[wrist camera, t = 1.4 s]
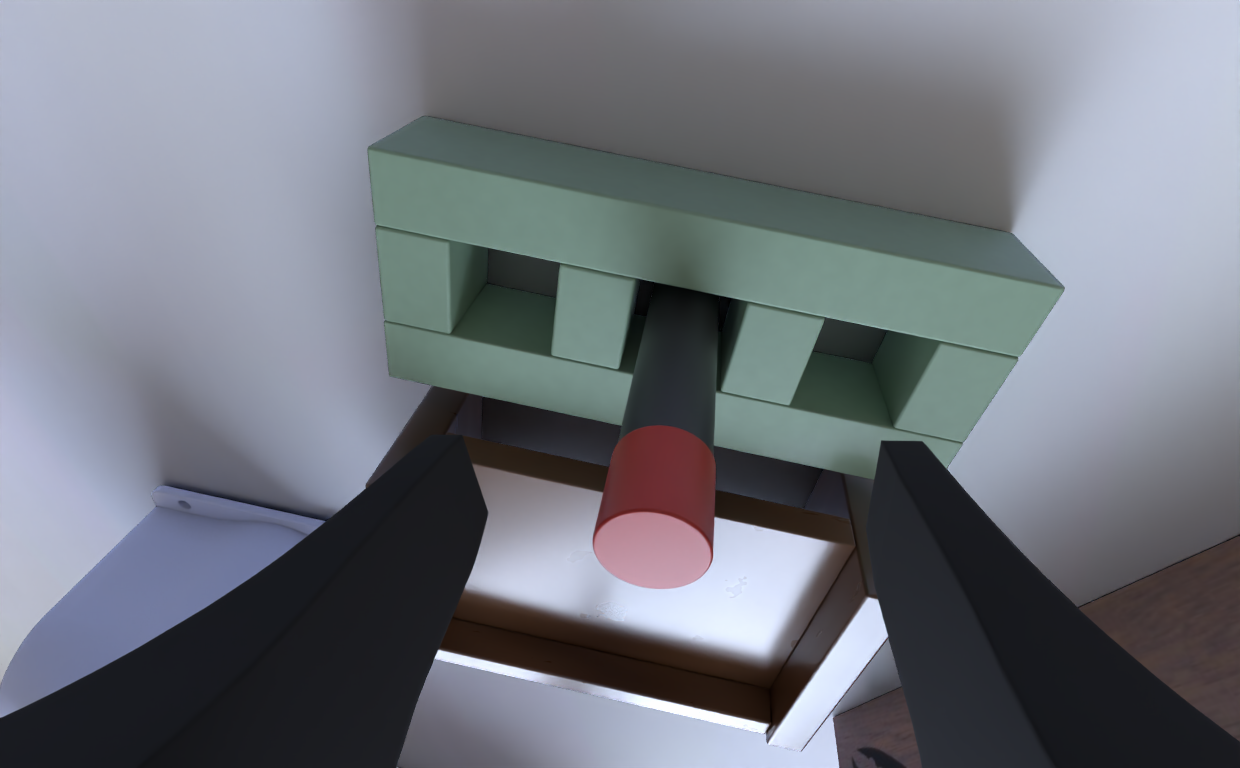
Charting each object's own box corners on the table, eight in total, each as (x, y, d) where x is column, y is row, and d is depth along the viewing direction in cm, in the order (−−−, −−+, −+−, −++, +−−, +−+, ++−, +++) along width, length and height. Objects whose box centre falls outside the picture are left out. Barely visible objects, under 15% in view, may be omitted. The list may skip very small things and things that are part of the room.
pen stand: (905, 422, 19) (931, 492, 16) (431, 322, 19) (388, 376, 17) (1013, 232, 15) (1068, 288, 13) (422, 114, 15) (365, 146, 13)
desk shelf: (452, 528, 25) (389, 659, 20) (448, 360, 20) (363, 484, 15) (788, 602, 25) (802, 753, 20) (872, 450, 19) (915, 605, 15)
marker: (647, 305, 18) (585, 575, 10) (660, 244, 16) (599, 498, 9) (712, 318, 18) (697, 600, 10) (729, 258, 16) (726, 525, 9)
